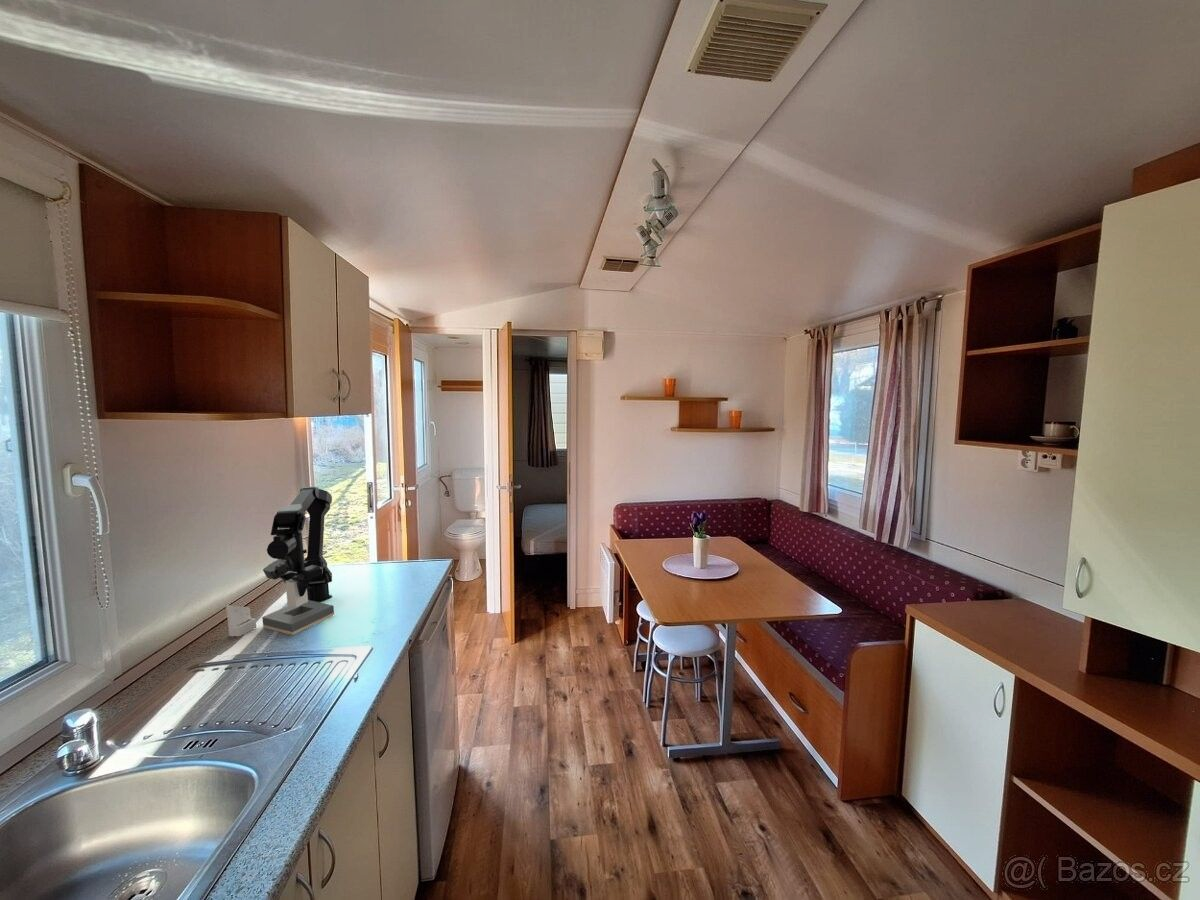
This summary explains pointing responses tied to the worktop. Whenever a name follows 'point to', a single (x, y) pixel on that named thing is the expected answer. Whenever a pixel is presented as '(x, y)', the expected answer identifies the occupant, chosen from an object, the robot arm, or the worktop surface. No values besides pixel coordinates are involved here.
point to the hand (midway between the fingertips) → (297, 595)
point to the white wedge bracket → (239, 620)
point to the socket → (297, 617)
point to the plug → (294, 594)
